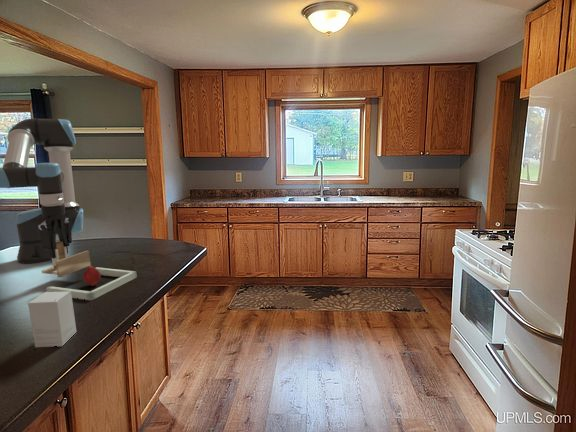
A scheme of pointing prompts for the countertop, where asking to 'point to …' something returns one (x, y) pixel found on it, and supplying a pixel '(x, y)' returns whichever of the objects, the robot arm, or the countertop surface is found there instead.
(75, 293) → the sage frame
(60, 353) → the countertop surface
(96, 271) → the red round fruit
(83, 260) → the wooden scraper
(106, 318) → the countertop surface
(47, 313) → the supplement box
